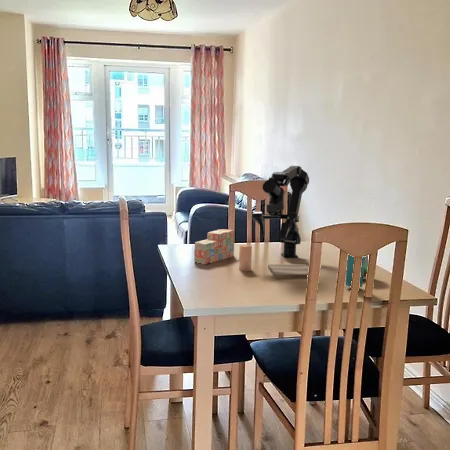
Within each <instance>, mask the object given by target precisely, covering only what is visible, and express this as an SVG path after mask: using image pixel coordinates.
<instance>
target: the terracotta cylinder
mask: <svg viewBox="0 0 450 450" xmlns="http://www.w3.org/2000/svg"><path fill="white" fill-rule="evenodd" d="M252 248H253V246H252V245H251V244H240V245H239V254H238V255H239V256H238V257H239V260H238V261H239V262H238V263H239V264H238V268H239V269H238V270H239V271H242V272H249V271H250V272H251V270H252V252H253V251H252V250H253V249H252Z"/></svg>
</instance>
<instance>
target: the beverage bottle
mask: <svg viewBox="0 0 450 450" xmlns="http://www.w3.org/2000/svg"><path fill="white" fill-rule="evenodd" d="M364 259H365V258H364V257H363V258H362V267H361V277H360V287H359V288H362V287H363V285H364V281H363V279H364V278H363V275H364V274H363V272H364ZM353 264H354V257H352V256H350V255H348V260H347V259H346V267H347V270H346V269H345V275H346V277H345V278H346V279H345V280H346V281H345V286H347V287H349V288H351V287H350V286H351V281H352V273H353Z"/></svg>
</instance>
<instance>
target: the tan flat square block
mask: <svg viewBox="0 0 450 450" xmlns="http://www.w3.org/2000/svg"><path fill="white" fill-rule="evenodd" d="M308 267H309V266H308V265H307V264H306V263H304V264H303V263H299V264H298V263H291V264H288V263H287V264H283V263H282V264H280V263H279V264H268V266H267V268H268V270H269V271H270V273H271V274H272V276H273V277H274V278H275V279H276V280H277V279H279V280H280V279H284V280H285V279H308V278H307V275H308Z"/></svg>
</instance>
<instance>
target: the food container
mask: <svg viewBox="0 0 450 450" xmlns="http://www.w3.org/2000/svg"><path fill="white" fill-rule="evenodd" d="M364 258H365V259H364V272H363V274H364V275H363V278H364V279H363V282H366V281H365V280H366V274H367V267H368V256H366V257H364Z"/></svg>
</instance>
